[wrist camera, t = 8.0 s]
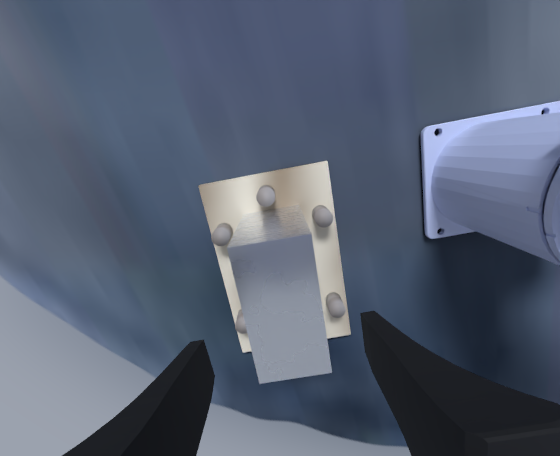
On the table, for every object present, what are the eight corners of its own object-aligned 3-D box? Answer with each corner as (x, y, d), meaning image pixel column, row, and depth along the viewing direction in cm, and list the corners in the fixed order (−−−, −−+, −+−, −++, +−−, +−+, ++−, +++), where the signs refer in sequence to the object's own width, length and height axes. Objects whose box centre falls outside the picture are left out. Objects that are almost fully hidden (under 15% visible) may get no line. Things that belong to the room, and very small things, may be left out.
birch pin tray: (326, 160, 19) (332, 162, 17) (348, 329, 23) (356, 348, 21) (200, 184, 20) (191, 189, 18) (243, 347, 23) (240, 367, 21)
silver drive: (299, 204, 20) (312, 233, 13) (315, 303, 22) (332, 372, 15) (242, 214, 20) (225, 248, 13) (263, 311, 22) (258, 383, 15)
